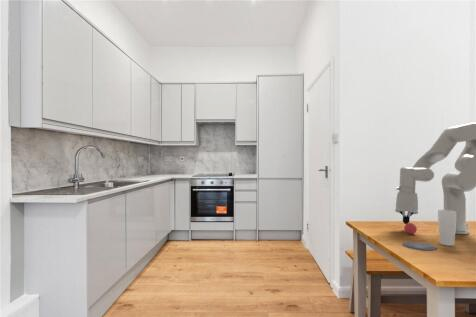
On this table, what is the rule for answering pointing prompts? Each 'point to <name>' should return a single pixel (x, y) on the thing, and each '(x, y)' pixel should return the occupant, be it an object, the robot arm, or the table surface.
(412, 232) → the ball
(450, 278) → the table surface
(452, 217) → the drinking glass
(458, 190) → the robot arm
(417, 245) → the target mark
